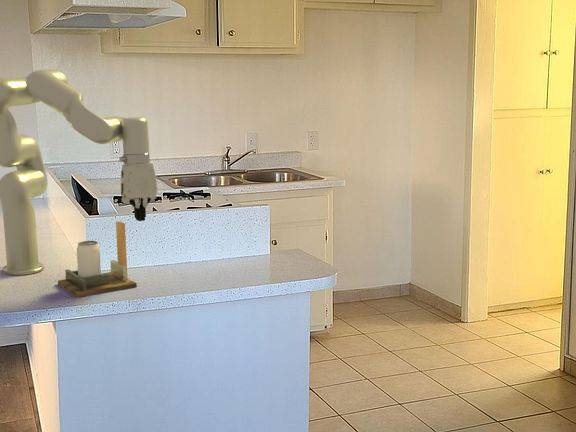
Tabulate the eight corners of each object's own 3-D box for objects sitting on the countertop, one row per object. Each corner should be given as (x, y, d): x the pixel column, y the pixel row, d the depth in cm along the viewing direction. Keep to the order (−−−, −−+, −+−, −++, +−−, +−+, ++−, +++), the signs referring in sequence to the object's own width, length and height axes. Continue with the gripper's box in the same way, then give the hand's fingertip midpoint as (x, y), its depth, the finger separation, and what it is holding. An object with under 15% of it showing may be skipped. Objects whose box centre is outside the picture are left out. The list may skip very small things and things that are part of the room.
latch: (111, 273, 237) (108, 220, 234) (118, 272, 239) (116, 219, 236) (123, 281, 230) (120, 226, 226) (131, 279, 231) (128, 225, 228)
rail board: (58, 284, 232) (58, 280, 232) (115, 275, 242) (115, 271, 242) (76, 297, 219) (76, 293, 219) (136, 287, 229) (136, 283, 229)
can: (103, 279, 232) (101, 240, 230) (98, 285, 226) (96, 245, 224) (81, 279, 232) (79, 240, 230) (76, 286, 226) (73, 245, 223)
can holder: (65, 279, 232) (65, 269, 232) (93, 275, 237) (93, 265, 237) (83, 291, 220) (82, 281, 220) (112, 286, 225) (111, 276, 224)
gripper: (117, 162, 224) (121, 225, 227) (165, 158, 232) (168, 219, 235) (108, 160, 230) (112, 221, 233) (154, 156, 238) (158, 215, 242)
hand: (140, 220), depth 234 cm, fingers closed
